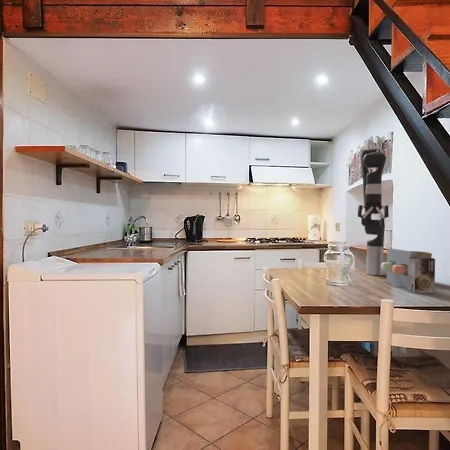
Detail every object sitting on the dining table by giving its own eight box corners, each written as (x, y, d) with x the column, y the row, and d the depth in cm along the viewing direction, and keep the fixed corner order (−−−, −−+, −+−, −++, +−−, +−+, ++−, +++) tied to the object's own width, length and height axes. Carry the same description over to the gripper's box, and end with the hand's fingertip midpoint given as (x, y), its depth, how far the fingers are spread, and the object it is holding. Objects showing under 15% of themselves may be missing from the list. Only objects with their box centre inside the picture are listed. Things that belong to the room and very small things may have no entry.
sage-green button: (380, 270, 183) (380, 261, 183) (393, 270, 184) (393, 261, 184) (385, 271, 179) (385, 263, 179) (398, 271, 179) (398, 263, 179)
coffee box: (428, 290, 166) (429, 256, 165) (435, 293, 159) (436, 258, 159) (408, 290, 167) (409, 256, 166) (414, 293, 160) (415, 257, 160)
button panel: (386, 282, 187) (387, 248, 186) (391, 282, 187) (392, 248, 186) (409, 290, 167) (410, 252, 166) (415, 289, 167) (416, 252, 167)
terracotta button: (391, 273, 173) (391, 264, 173) (405, 273, 174) (405, 264, 174) (396, 274, 169) (397, 265, 169) (410, 274, 170) (410, 265, 169)
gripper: (360, 193, 171) (360, 226, 172) (391, 193, 170) (390, 226, 170) (356, 194, 179) (355, 225, 179) (385, 194, 178) (384, 226, 178)
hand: (372, 226), depth 175 cm, fingers open, 8 cm apart
